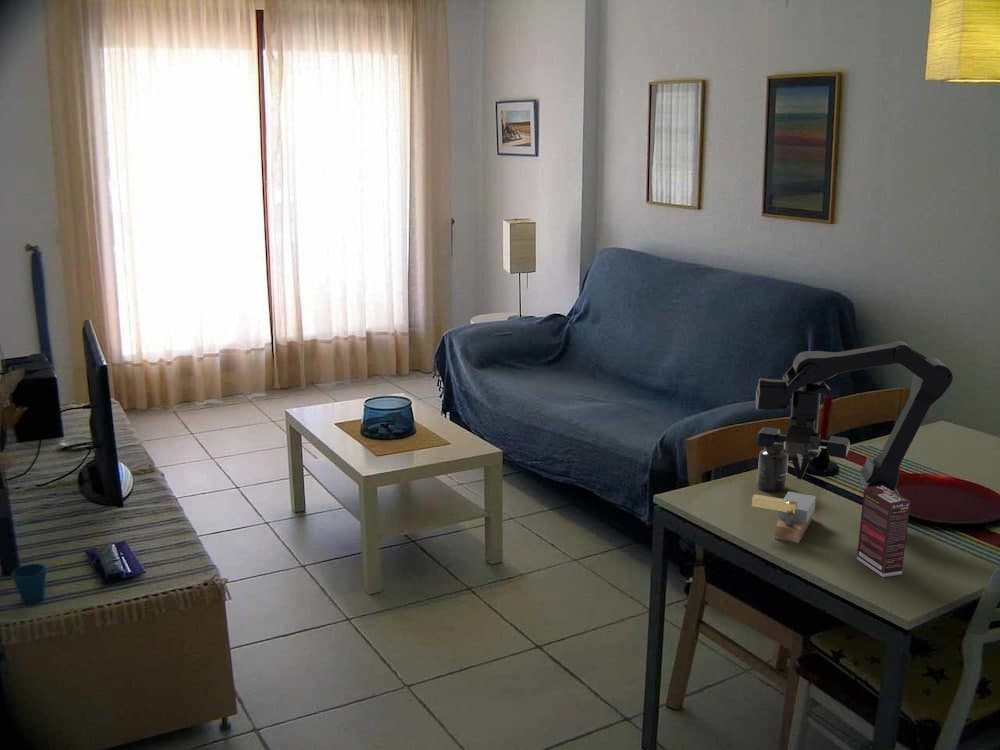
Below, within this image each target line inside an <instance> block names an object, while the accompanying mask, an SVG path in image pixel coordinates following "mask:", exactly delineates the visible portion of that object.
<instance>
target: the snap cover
mask: <svg viewBox="0 0 1000 750" xmlns="http://www.w3.org/2000/svg"><path fill="white" fill-rule="evenodd" d="M816 497H817V496H816V495H809V494H804V493H799V492H795V491H794V492H793V491H787V493H786V494H785V496H784V497H783V499H786V500H794V501H797V511H796V513H794V517H793V522H798V523H803V524H806V523H807V522H808V520H809V518H810V516H811V515H812V513H813V512H814V511H815V508H816V500H817V499H816ZM786 518H787V512H783V511H778V512H777V519H778V520H780V519H783V520H786Z"/></svg>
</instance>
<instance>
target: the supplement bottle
mask: <svg viewBox="0 0 1000 750" xmlns="http://www.w3.org/2000/svg"><path fill="white" fill-rule="evenodd" d="M763 448H764V449H762V450H760V452H759V455H758V466H757V478H756V486H757V488H758V489H760V490H761V491H764V492H766V493H781V492H783V491H785V490H786V485H787V479H788V478H787V477H788V468H789V467H788V465H789V455H788V454H787V453H784V452H783V449H784V443H777V442H775V444H774V445H773V446H772V447H763Z"/></svg>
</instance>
